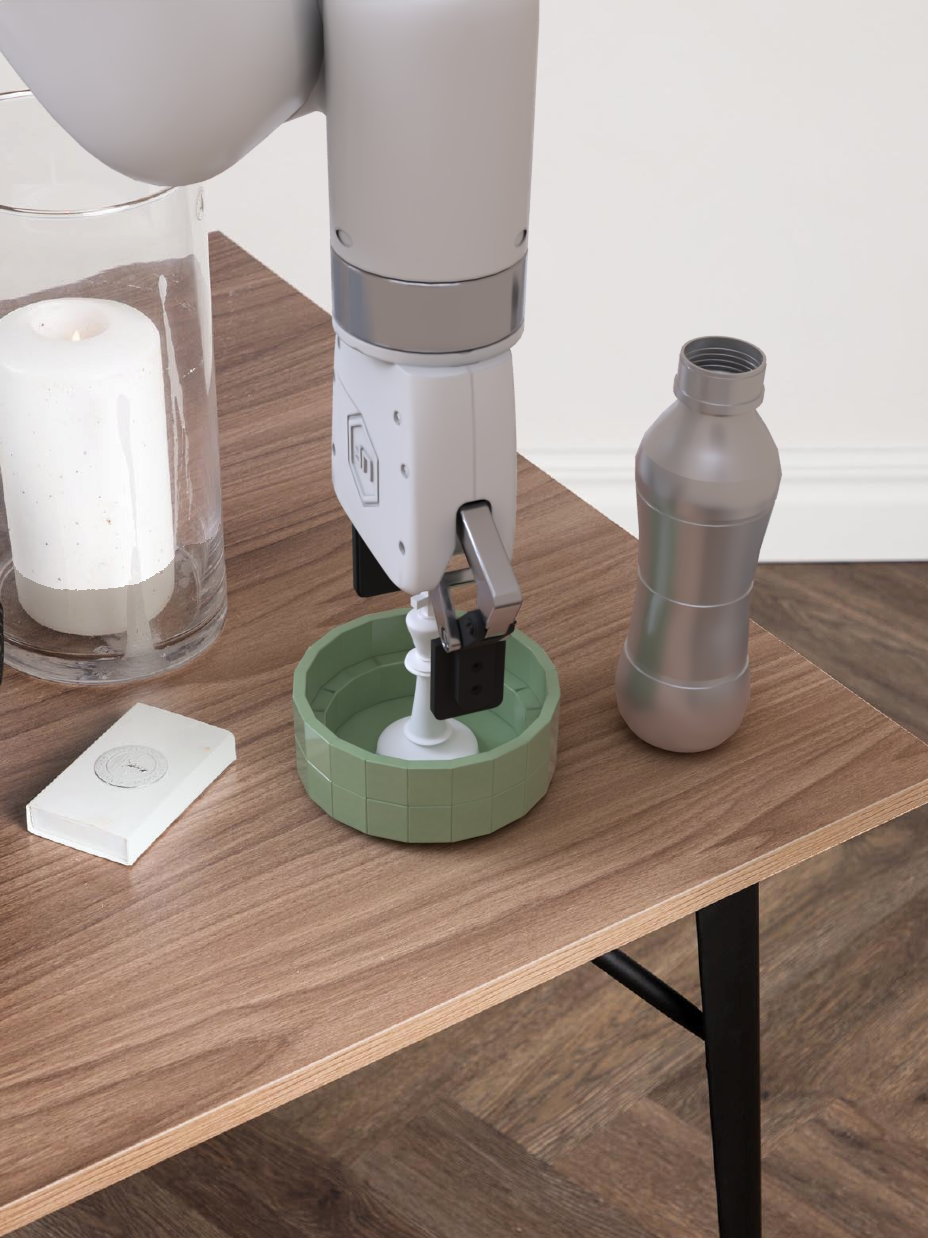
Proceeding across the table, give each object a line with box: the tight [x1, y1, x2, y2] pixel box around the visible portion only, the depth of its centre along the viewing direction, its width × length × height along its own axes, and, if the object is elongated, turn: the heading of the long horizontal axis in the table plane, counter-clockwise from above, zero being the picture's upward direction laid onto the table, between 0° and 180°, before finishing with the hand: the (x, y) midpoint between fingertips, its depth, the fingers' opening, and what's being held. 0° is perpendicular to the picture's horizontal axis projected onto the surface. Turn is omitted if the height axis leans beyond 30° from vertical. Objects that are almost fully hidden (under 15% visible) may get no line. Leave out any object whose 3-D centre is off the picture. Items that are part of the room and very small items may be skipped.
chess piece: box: [376, 591, 479, 760], centre depth 78 cm, size 5×5×10 cm
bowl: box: [292, 606, 562, 844], centre depth 80 cm, size 12×12×5 cm
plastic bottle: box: [614, 335, 783, 754], centre depth 78 cm, size 6×7×20 cm
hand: (425, 647), depth 77 cm, fingers open, 9 cm apart
